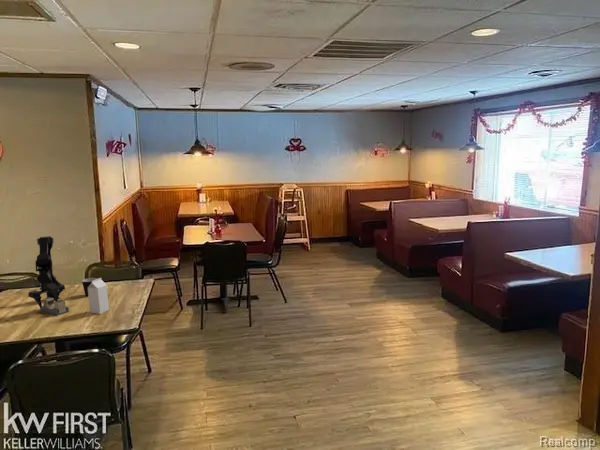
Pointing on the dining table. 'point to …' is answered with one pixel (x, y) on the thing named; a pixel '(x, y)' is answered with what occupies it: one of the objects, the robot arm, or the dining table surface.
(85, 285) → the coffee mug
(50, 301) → the block
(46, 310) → the rail
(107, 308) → the milk carton
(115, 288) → the dining table surface
